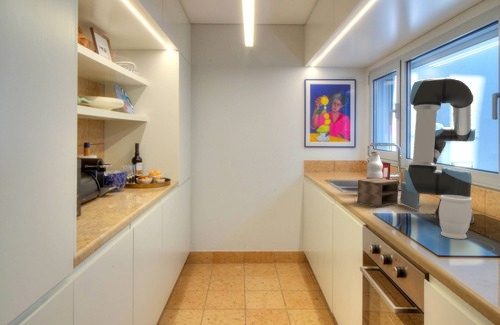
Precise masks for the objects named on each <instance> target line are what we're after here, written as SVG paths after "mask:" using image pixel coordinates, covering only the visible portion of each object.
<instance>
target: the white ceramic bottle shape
mask: <svg viewBox="0 0 500 325" xmlns="http://www.w3.org/2000/svg"><path fill="white" fill-rule="evenodd" d="M370 153H371V157H370V158H369V162H367V165H366V167H367V171H366V179H372V178H379V179H383V173H382V168H383V164H382V162H383V161H382V160H381V157H380V154H381V152H380V151H370ZM381 161H382V162H381Z"/></svg>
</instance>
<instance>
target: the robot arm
mask: <svg viewBox="0 0 500 325" xmlns="http://www.w3.org/2000/svg"><path fill="white" fill-rule="evenodd" d="M473 102H474V92H473V90H472V89H471V86H469V85H468V83H467V82H465V81H464V80H461V79H460V78H458V77H457V78H456V77H453V76H452V77H451V76H449V77H439V78H437V77H435V78H423V79H418V80H415V82H414V83H413V84H412V87H411V90H410V95H409V103H410V105H412V108H413V109H414V110H415V112H416V115H415V116H416V117H415V126H414V140H413V142H414V143H413V155H412V161H411V162H410V163H408V167H406V168H404V176H403V177H404V183H405V186H406V189H407V190H408V191H409V192H412V193H417V194H420V195H430V196H440V195H459V196H466V197H470V198H471V194H472V193H471V192H472V184H473V181H472V173H471V172H470V171H469V170H466V169H460V168H455V167H446V166H443V167H441V169H438V168H437V167H438V166H437V165H436V164H437V162H438V160H439V158H440V156H441V154H442V152H443V151H444V149H445V148H446V145H447V142H466V143H467V142H474V141H475V139H476V128H475V127H472V123H471V121H472V118H471V116H472V112H471V111H472V109H471V108H472V107H471V105H472V104H473ZM442 104H449V105H450V106H451V109H452V110H451V112H452V120H453V121H452V122H453V126H451V127H450V126H449V127H444V125H443V124H441V123H439V122H437V116H438V111H439V110H440V109H441V108H442ZM440 202H441V199H440V198H439V202H438V204H437V207H436V209H435V211H434V219H435V220H438V221H440V219H439V206H440ZM474 217H475V216H474V213H473V212H472V217H471V221H470V225H471V224H473V223H474V222H475V218H474Z"/></svg>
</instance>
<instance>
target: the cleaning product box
mask: <svg viewBox="0 0 500 325" xmlns="http://www.w3.org/2000/svg"><path fill="white" fill-rule="evenodd" d="M369 161H370V160H369ZM369 161H368V162H369ZM368 162H367V163H368ZM381 162H382V164H383V168H382V173H383V179H387V180H391V173H390V172H391V162H390V163H389V162H387V161H382V160H381Z"/></svg>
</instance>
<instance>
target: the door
mask: <svg viewBox="0 0 500 325" xmlns="http://www.w3.org/2000/svg"><path fill="white" fill-rule="evenodd" d="M420 195H421V194H417V193H412V192H409V191H408V190H407V189H406V186H405V181H402V182H401V183H400V196H399V202H400V204H402V205H404V206H407V207H409V208H410V209H411V208H412V209H413V210H419V209H420V206H421V203H420V197H421V196H420Z"/></svg>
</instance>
